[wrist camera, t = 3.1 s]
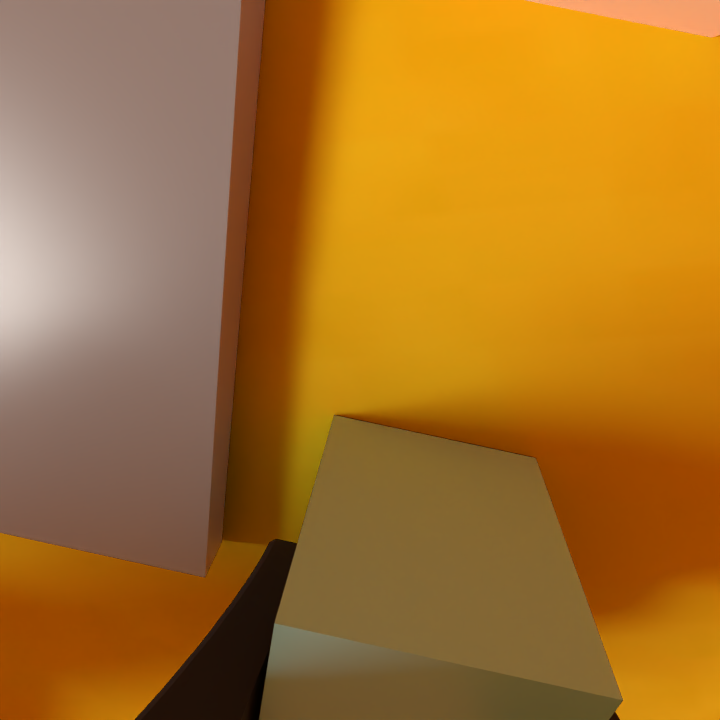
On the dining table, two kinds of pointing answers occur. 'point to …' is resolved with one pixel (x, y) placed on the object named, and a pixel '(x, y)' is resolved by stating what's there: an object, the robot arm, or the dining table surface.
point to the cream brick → (654, 12)
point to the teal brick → (432, 591)
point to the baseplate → (123, 269)
